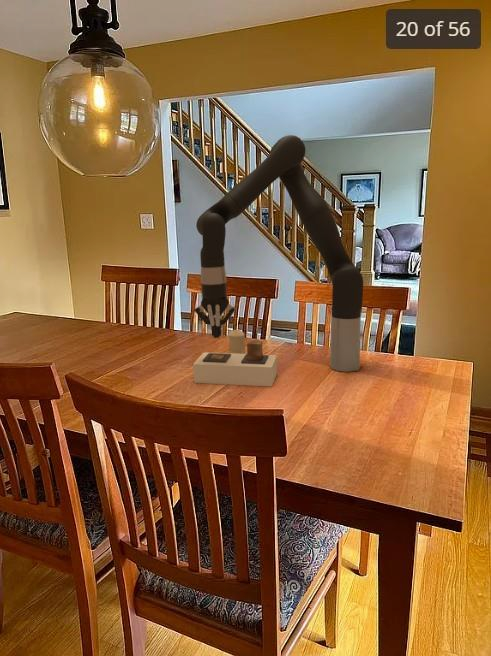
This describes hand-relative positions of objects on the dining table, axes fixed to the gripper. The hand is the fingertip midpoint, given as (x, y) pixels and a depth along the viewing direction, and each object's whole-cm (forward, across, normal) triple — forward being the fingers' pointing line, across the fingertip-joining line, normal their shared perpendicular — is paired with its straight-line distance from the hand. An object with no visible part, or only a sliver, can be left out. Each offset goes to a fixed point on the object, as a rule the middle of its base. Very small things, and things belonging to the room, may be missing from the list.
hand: (216, 337), depth 151 cm
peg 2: (+8, -12, 0) cm, 14 cm away
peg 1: (+13, 0, 0) cm, 13 cm away
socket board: (+13, -6, 0) cm, 14 cm away
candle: (+13, -2, -20) cm, 24 cm away
